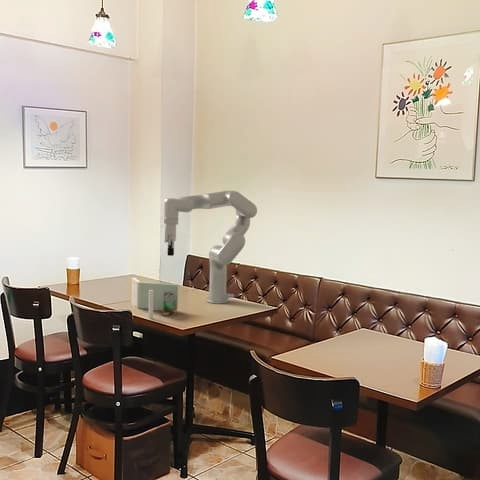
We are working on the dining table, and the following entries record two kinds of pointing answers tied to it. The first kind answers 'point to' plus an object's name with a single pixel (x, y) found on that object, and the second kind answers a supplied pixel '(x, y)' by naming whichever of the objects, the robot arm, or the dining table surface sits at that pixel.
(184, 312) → the dining table surface
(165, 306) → the food container
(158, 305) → the door
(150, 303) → the door frame
